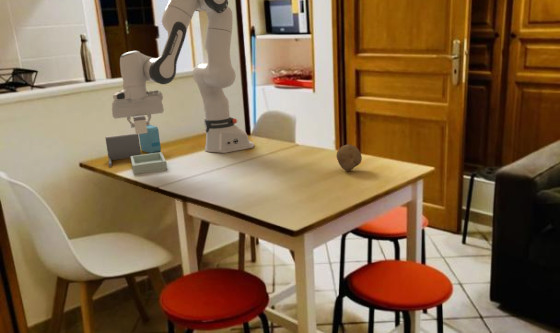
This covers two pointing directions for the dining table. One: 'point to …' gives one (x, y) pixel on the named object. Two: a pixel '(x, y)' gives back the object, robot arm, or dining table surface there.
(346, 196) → the dining table surface
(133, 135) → the bay
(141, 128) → the tall grey rectangular block
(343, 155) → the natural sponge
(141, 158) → the tray
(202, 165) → the dining table surface
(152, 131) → the data package
